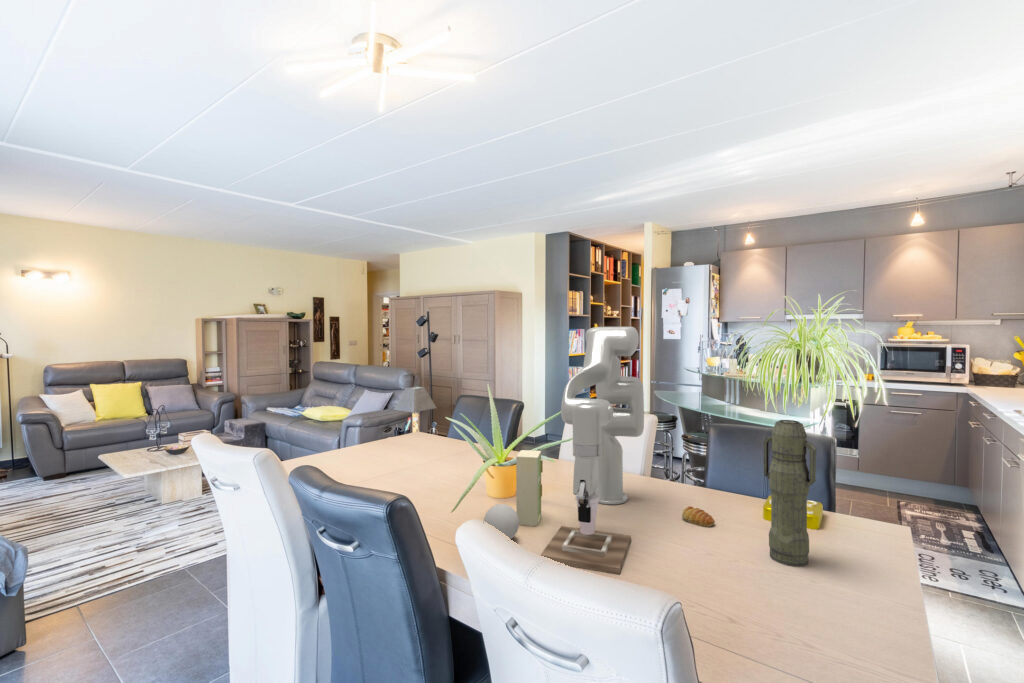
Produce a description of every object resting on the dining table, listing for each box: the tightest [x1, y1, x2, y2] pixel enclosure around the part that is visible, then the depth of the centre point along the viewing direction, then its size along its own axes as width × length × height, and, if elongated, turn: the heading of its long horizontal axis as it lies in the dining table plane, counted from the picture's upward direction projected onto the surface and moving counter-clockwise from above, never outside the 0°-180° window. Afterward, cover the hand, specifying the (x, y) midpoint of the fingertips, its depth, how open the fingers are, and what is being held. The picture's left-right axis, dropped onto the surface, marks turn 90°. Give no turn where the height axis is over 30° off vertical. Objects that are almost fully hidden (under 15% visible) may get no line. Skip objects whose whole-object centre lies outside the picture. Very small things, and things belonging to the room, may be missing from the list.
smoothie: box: [574, 492, 599, 535], centre depth 131 cm, size 6×6×14 cm
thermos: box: [763, 419, 817, 567], centre depth 125 cm, size 9×12×35 cm
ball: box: [483, 503, 520, 540], centre depth 138 cm, size 10×10×10 cm
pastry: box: [681, 505, 716, 528], centre depth 150 cm, size 9×7×4 cm
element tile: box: [762, 494, 824, 530], centre depth 153 cm, size 15×15×5 cm
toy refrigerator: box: [515, 449, 544, 527], centre depth 152 cm, size 8×7×21 cm
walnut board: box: [540, 525, 632, 575], centre depth 131 cm, size 20×20×3 cm
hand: (587, 516), depth 131 cm, fingers closed on smoothie, 6 cm apart
